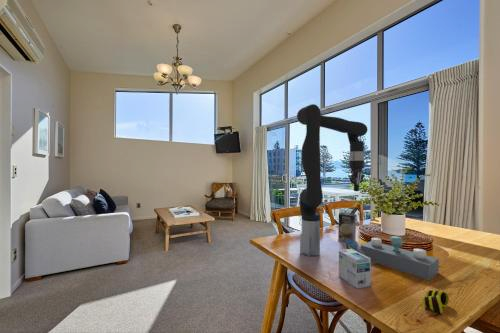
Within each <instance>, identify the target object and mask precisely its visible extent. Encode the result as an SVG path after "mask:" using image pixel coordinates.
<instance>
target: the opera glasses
mask: <svg viewBox="0 0 500 333" xmlns="http://www.w3.org/2000/svg"><path fill="white" fill-rule="evenodd" d="M425 295H426V296H424V295H422V303H423V308H424V309H428V310H431V311H433V312H434V311H435V312H437V313H440V314H441V315H442V314H444V313H443V312H444V311H443V308H446V307H448V305H449V303H450V296H449V293H447V291H445V290H443V289H440V290H436V289H435V290H432V289H427V290H426V294H425Z"/></svg>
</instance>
